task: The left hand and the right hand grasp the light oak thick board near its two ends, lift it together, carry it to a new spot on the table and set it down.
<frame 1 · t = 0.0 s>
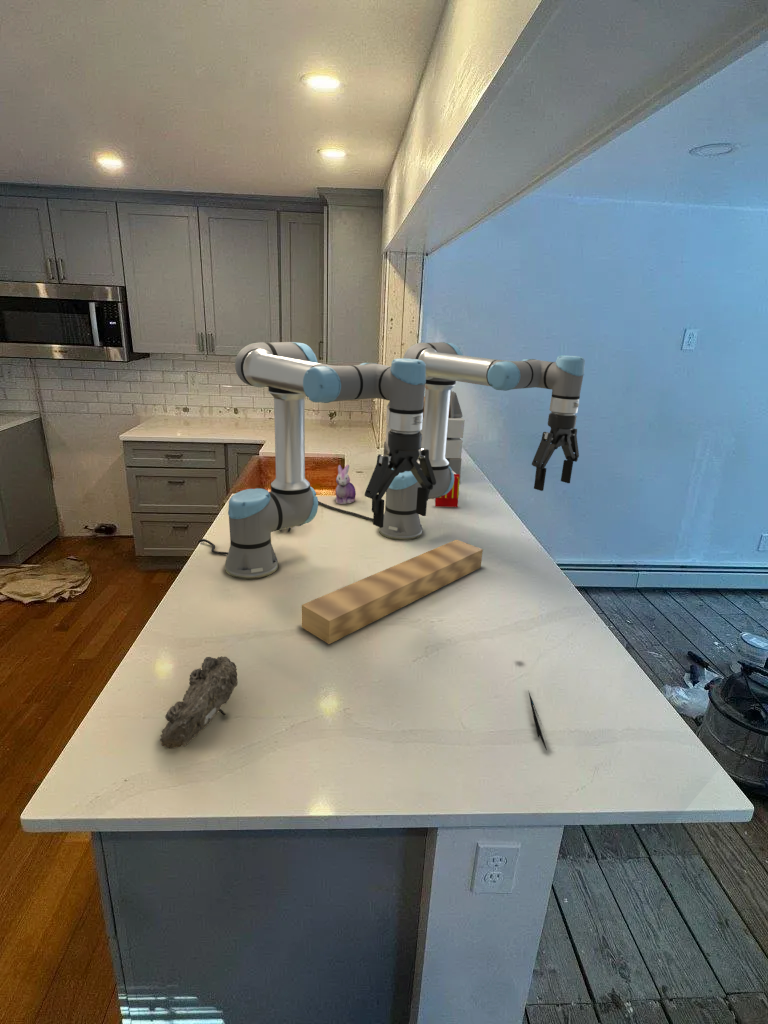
left hand: (400, 520, 133), 28 cm above the counter, tool pointing down, fingers open, 13 cm apart
right hand: (552, 485, 166), 28 cm above the counter, tool pointing down, fingers open, 13 cm apart
toy: (441, 496, 242), on the counter
figurine character: (287, 526, 202), on the counter
fossil: (206, 713, 109), on the counter
feather: (530, 703, 116), on the counter
transformer: (419, 473, 275), on the counter
thick board: (401, 593, 158), on the counter
figurine: (345, 501, 231), on the counter
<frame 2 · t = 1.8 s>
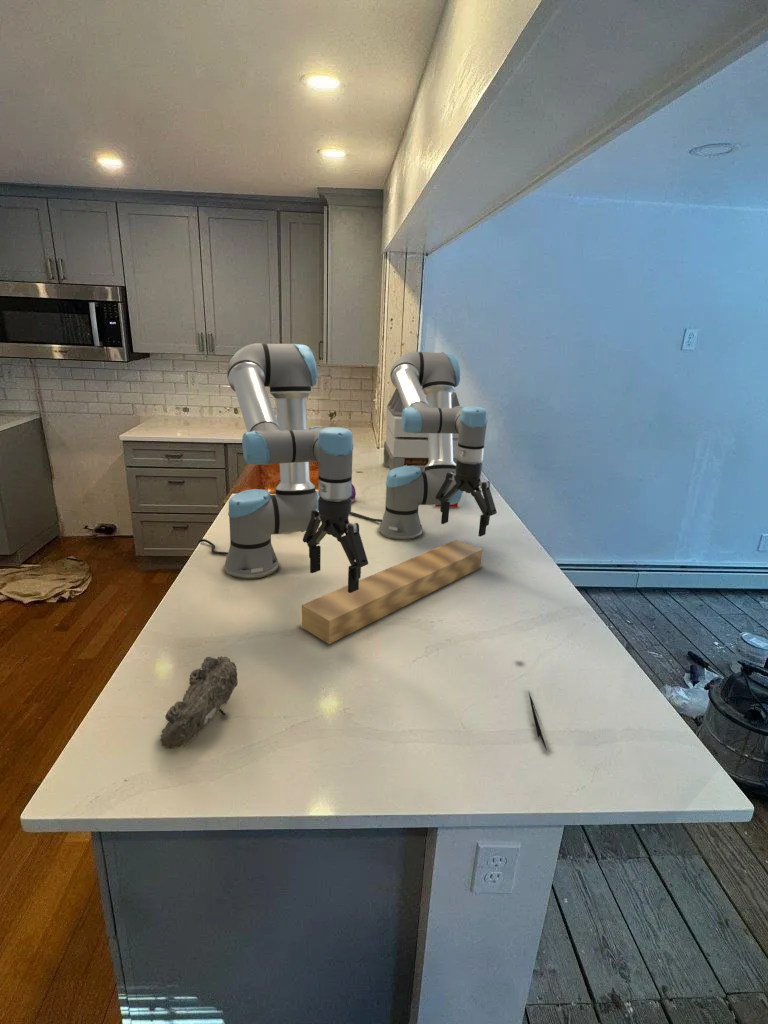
left hand: (333, 580, 136), 13 cm above the counter, tool pointing down, fingers open, 13 cm apart
right hand: (462, 529, 172), 13 cm above the counter, tool pointing down, fingers open, 13 cm apart
nothing on the counter moved.
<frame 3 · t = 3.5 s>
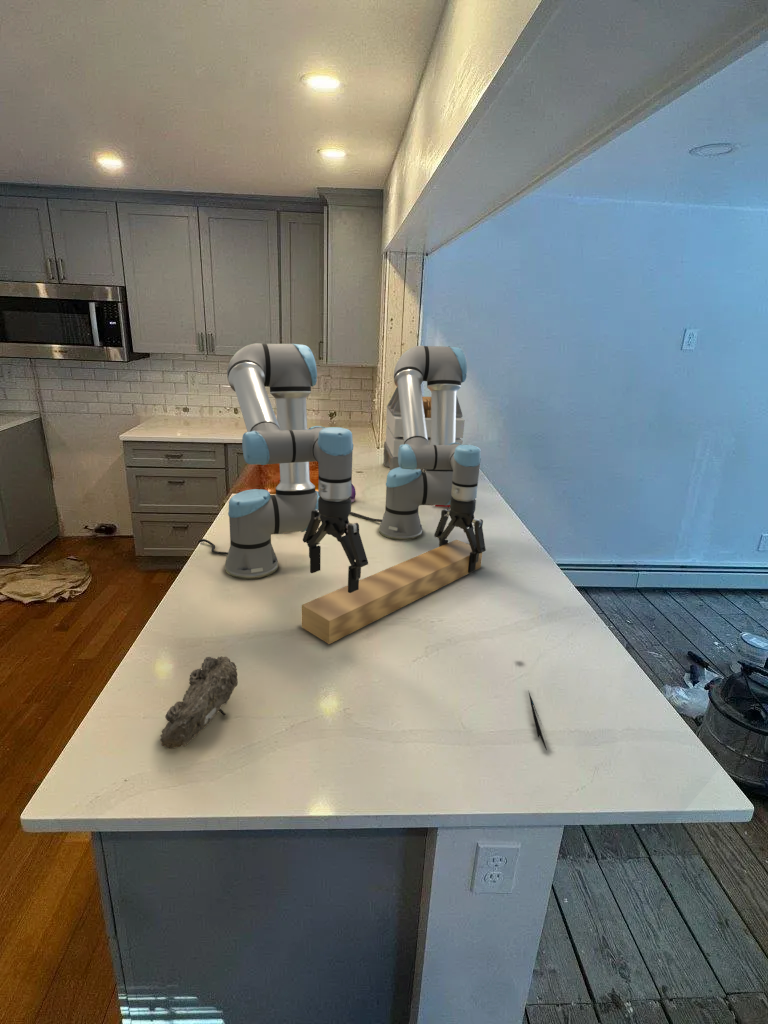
left hand: (333, 580, 136), 13 cm above the counter, tool pointing down, fingers open, 13 cm apart
right hand: (457, 565, 176), 1 cm above the counter, tool pointing down, fingers closed on thick board, 10 cm apart
thick board: (401, 593, 158), on the counter, touching right hand
everything else where it was.
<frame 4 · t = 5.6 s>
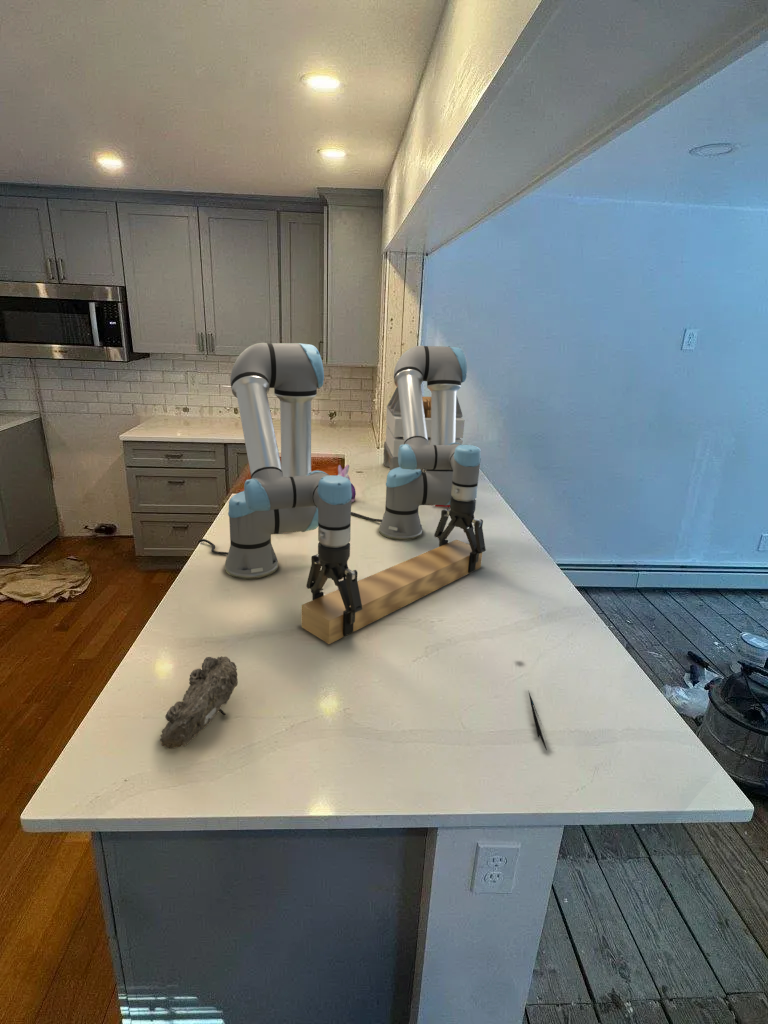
left hand: (332, 624, 140), 1 cm above the counter, tool pointing down, fingers closed on thick board, 10 cm apart
right hand: (456, 565, 176), 1 cm above the counter, tool pointing down, fingers closed on thick board, 10 cm apart
thick board: (401, 593, 158), on the counter, touching right hand, left hand
everything else where it was.
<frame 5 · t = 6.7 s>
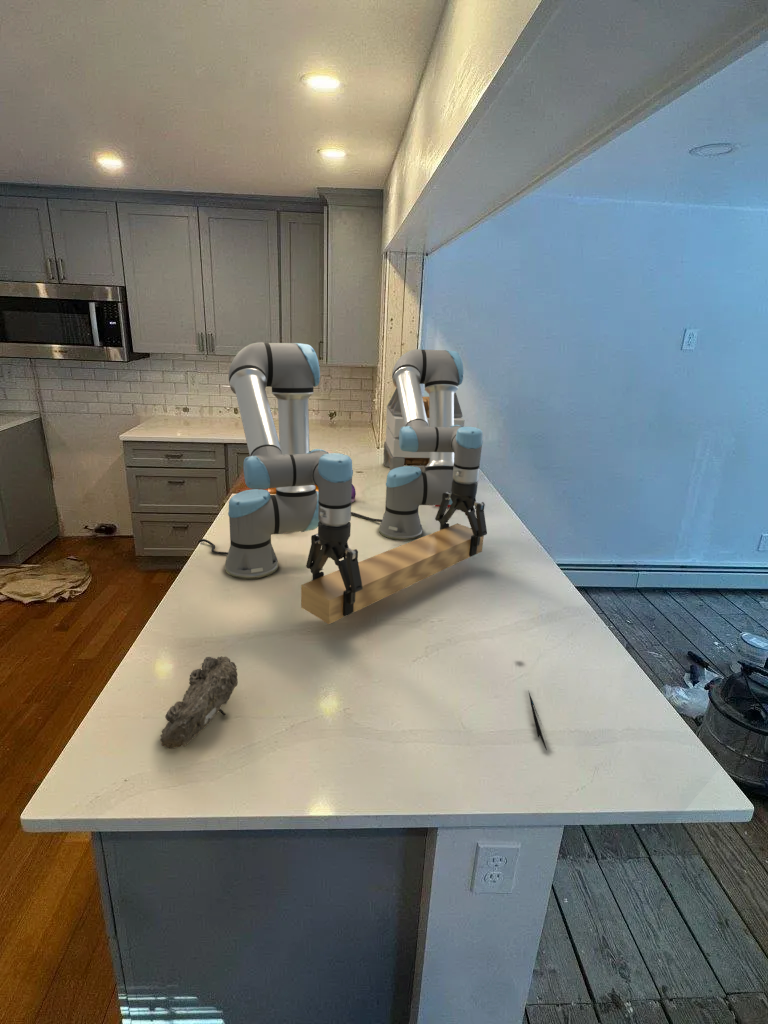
left hand: (332, 605, 139), 6 cm above the counter, tool pointing down, fingers closed on thick board, 10 cm apart
right hand: (458, 549, 174), 6 cm above the counter, tool pointing down, fingers closed on thick board, 10 cm apart
thick board: (402, 576, 157), point 5 cm above the counter, touching right hand, left hand
everything else where it was.
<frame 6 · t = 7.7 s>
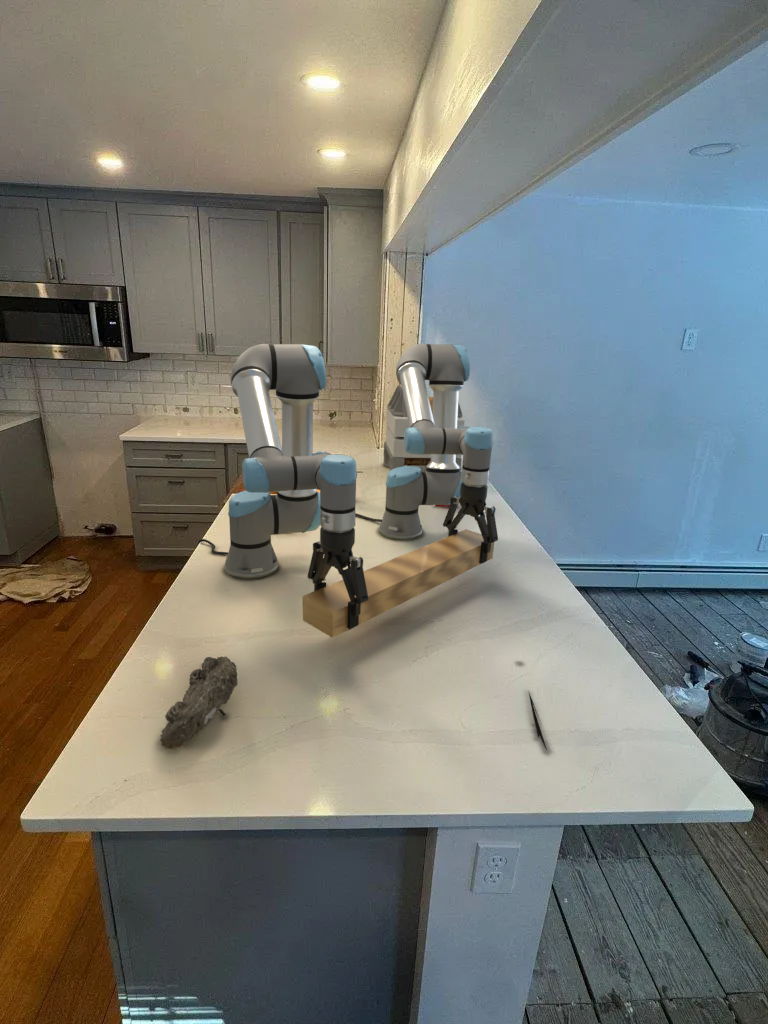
left hand: (336, 617, 130), 8 cm above the counter, tool pointing down, fingers closed on thick board, 10 cm apart
right hand: (467, 556, 165), 8 cm above the counter, tool pointing down, fingers closed on thick board, 10 cm apart
thick board: (409, 585, 148), point 7 cm above the counter, touching right hand, left hand
everything else where it was.
when the left hand's fingers open (2 cm above the counter, at t = 10.0 s): thick board drops 2 cm, on the counter.
when the right hand's fingers open (2 cm above the counter, at t = 10.0 s): thick board drops 2 cm, on the counter.
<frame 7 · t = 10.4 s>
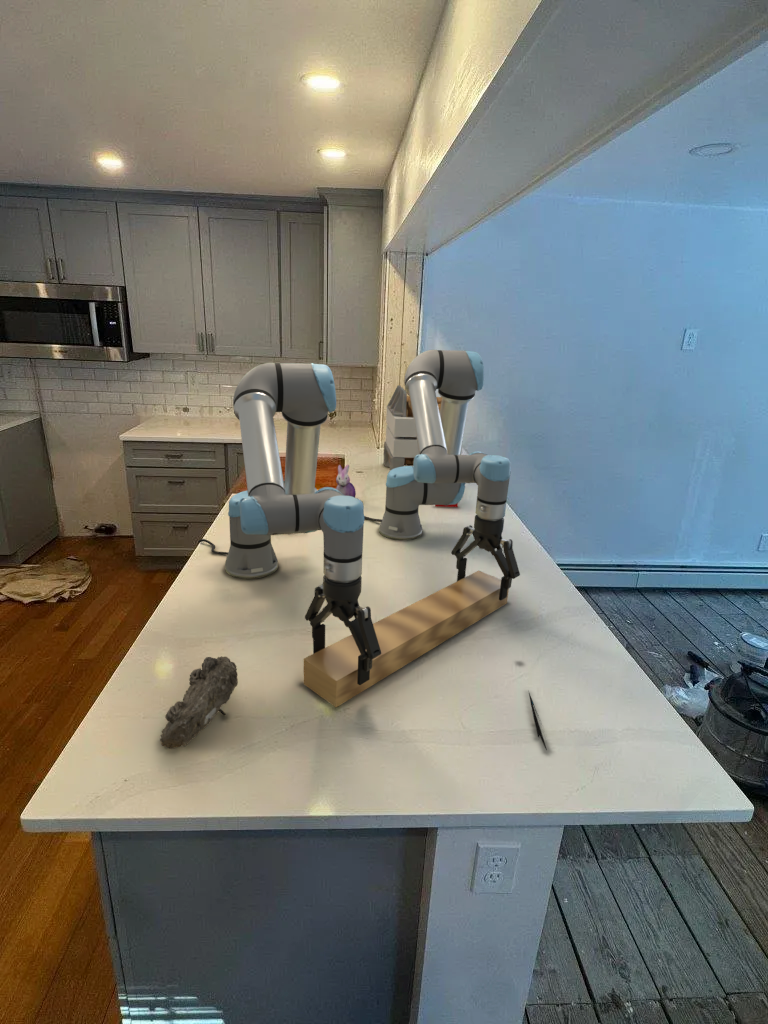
left hand: (340, 666, 118), 4 cm above the counter, tool pointing down, fingers open, 13 cm apart
right hand: (481, 589, 154), 4 cm above the counter, tool pointing down, fingers open, 13 cm apart
thick board: (419, 638, 137), on the counter
everything else where it was.
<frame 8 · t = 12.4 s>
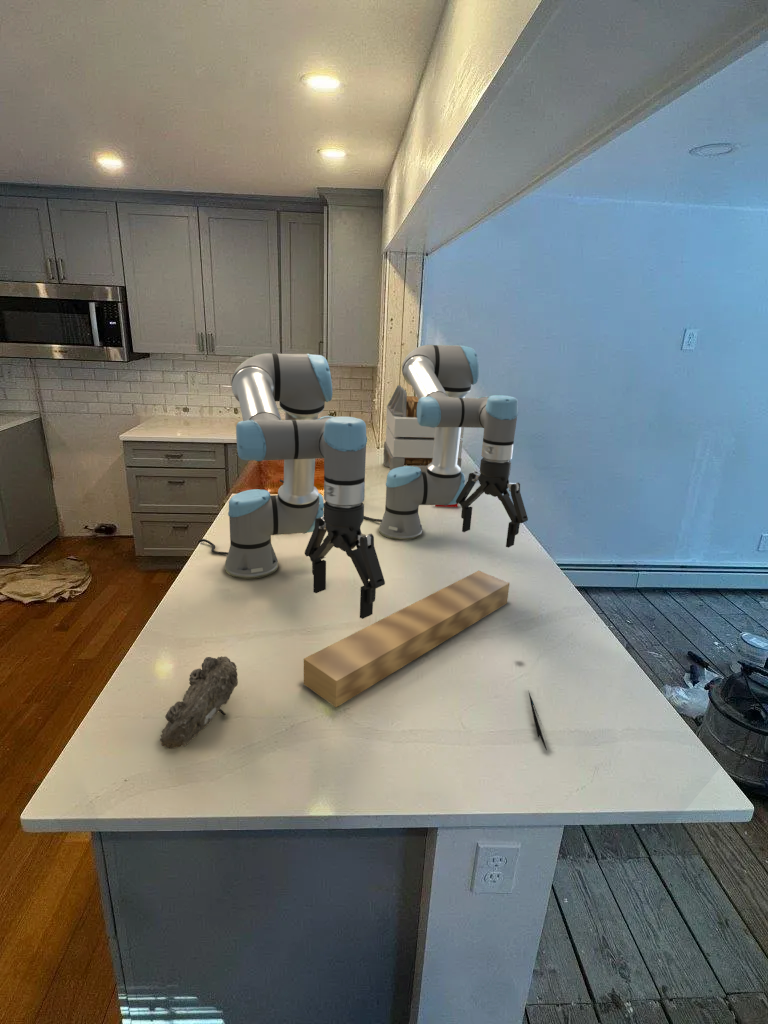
left hand: (342, 603, 113), 19 cm above the counter, tool pointing down, fingers open, 13 cm apart
right hand: (487, 538, 148), 19 cm above the counter, tool pointing down, fingers open, 13 cm apart
nothing on the counter moved.
at the end: thick board inside the target area (0.2 cm from its centre), on the counter; thick board tilted 0°; thick board never tilted more than 2° during the clip; both hands held the thick board at the same time; the left hand is holding nothing; the right hand is holding nothing; thick board at rest at the end (0.0 cm/s) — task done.
